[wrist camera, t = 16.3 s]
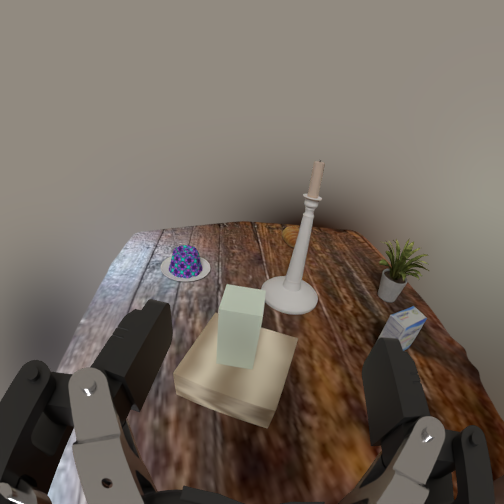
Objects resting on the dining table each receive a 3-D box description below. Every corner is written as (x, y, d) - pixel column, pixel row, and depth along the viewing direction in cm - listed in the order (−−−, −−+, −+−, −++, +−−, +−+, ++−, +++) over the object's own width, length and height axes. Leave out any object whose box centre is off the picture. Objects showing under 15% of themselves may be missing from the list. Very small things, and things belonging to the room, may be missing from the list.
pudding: (156, 260, 66) (155, 241, 64) (200, 254, 72) (201, 236, 69) (167, 288, 57) (166, 267, 55) (217, 279, 63) (219, 259, 60)
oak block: (289, 361, 44) (298, 338, 41) (267, 429, 32) (275, 411, 29) (214, 337, 47) (215, 312, 44) (176, 395, 35) (173, 373, 32)
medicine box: (385, 361, 45) (406, 329, 41) (372, 346, 48) (390, 313, 44) (408, 348, 48) (427, 317, 44) (396, 335, 51) (413, 304, 47)
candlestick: (279, 272, 68) (302, 151, 54) (325, 294, 63) (361, 167, 48) (249, 296, 59) (271, 152, 44) (302, 323, 53) (343, 172, 38)
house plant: (370, 315, 57) (397, 252, 49) (351, 280, 69) (370, 224, 61) (415, 314, 58) (443, 258, 51) (393, 282, 70) (413, 231, 63)
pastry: (307, 250, 82) (310, 239, 80) (285, 249, 81) (288, 237, 79) (299, 236, 90) (302, 225, 88) (280, 234, 89) (282, 224, 87)
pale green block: (256, 343, 39) (265, 290, 35) (252, 369, 35) (262, 316, 30) (223, 338, 40) (226, 284, 35) (216, 363, 35) (218, 309, 30)
